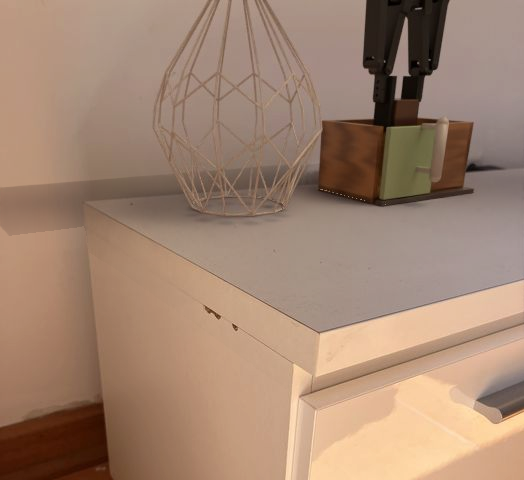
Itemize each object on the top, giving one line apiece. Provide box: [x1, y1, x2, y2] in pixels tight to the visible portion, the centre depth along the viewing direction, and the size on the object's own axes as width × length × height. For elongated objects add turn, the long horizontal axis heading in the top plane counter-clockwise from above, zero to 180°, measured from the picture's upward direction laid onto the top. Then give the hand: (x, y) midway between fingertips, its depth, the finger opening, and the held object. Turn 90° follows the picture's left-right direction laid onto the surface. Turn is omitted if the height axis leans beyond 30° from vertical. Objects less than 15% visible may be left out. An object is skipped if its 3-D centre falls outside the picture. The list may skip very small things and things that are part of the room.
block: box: [383, 97, 420, 132], centre depth 76 cm, size 4×4×4 cm
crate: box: [317, 116, 475, 207], centre depth 77 cm, size 12×18×9 cm
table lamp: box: [152, 0, 323, 217], centre depth 60 cm, size 22×22×40 cm
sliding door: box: [379, 116, 450, 200], centre depth 69 cm, size 4×8×10 cm, turn 124°
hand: (394, 129), depth 76 cm, fingers closed on block, 4 cm apart
